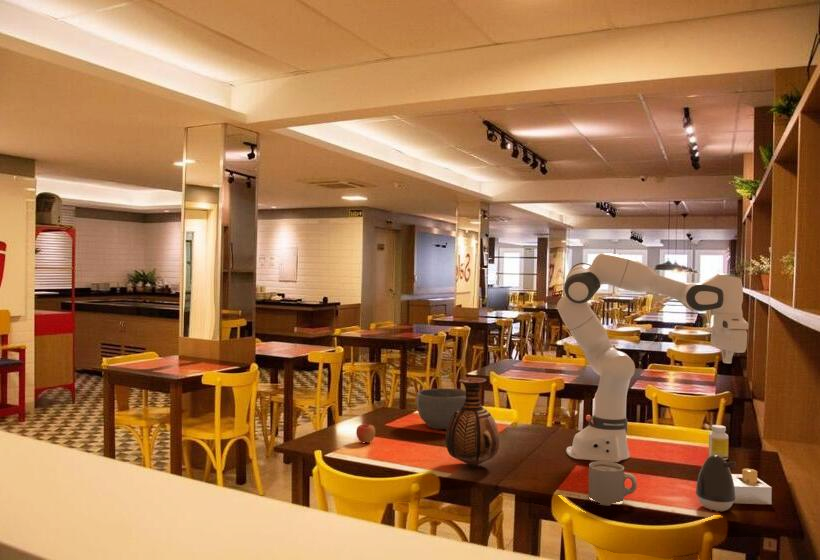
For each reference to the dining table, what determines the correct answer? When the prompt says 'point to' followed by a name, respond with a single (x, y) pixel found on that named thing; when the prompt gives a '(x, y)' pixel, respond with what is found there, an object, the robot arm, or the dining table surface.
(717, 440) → the pill bottle
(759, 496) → the jig block
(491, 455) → the vase
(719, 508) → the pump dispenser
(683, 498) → the dining table surface
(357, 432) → the apple
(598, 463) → the coffee mug
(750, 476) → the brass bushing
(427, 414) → the bowl
